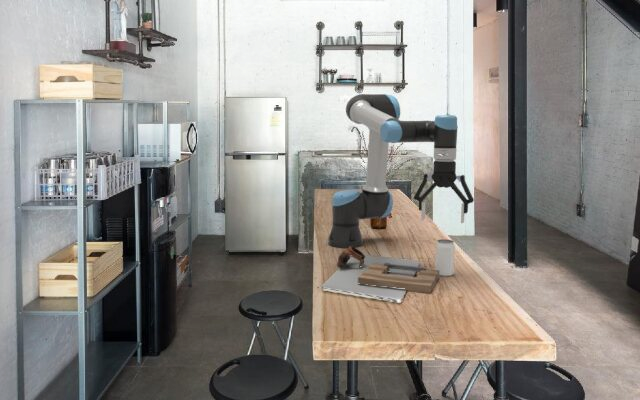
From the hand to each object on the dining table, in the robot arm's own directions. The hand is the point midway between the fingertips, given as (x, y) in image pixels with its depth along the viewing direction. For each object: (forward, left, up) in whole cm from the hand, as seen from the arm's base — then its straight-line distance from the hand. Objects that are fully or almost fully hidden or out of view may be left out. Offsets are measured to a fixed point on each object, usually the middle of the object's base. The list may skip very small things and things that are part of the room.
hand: (442, 221), depth 185 cm
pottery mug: (+3, -33, -20) cm, 39 cm away
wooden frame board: (+13, -12, -19) cm, 26 cm away
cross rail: (+5, -12, -19) cm, 23 cm away
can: (-1, +1, -20) cm, 20 cm away
